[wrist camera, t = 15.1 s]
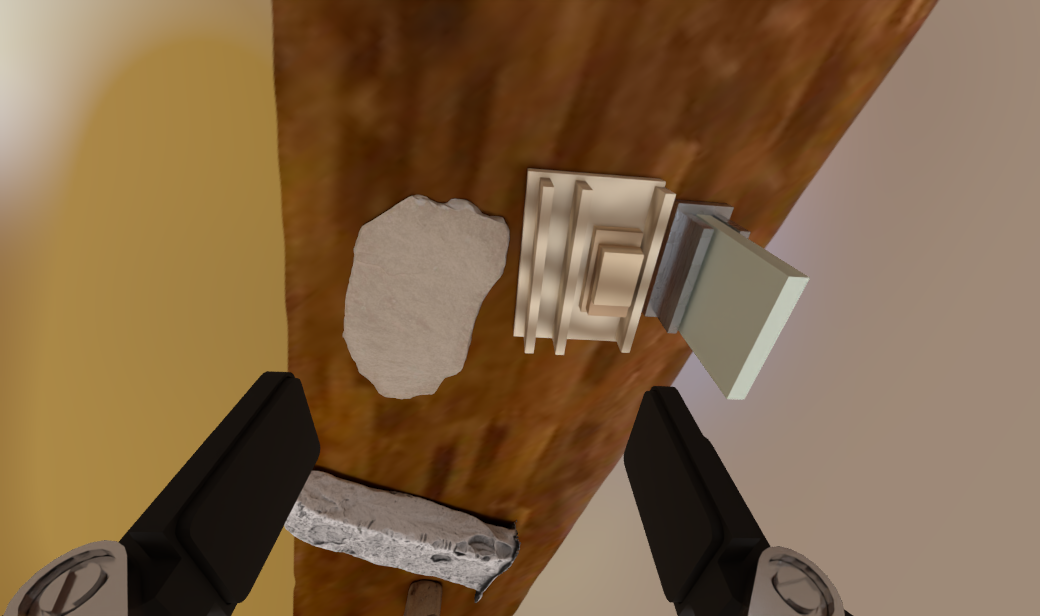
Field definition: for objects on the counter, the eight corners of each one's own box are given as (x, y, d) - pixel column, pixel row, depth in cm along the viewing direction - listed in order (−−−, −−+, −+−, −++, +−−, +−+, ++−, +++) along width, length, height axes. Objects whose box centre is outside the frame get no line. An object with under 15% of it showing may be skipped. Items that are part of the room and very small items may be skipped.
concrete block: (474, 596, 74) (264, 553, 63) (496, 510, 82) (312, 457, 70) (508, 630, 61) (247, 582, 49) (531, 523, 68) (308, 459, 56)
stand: (673, 199, 40) (700, 217, 34) (726, 203, 40) (761, 222, 35) (641, 309, 47) (659, 339, 41) (686, 312, 47) (710, 342, 42)
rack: (527, 168, 38) (530, 179, 33) (660, 178, 39) (681, 191, 34) (513, 329, 48) (514, 355, 43) (618, 334, 49) (630, 361, 44)
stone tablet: (524, 221, 41) (524, 228, 39) (444, 402, 55) (441, 414, 53) (375, 159, 37) (367, 163, 35) (330, 370, 51) (322, 382, 49)
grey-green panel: (696, 214, 39) (789, 276, 26) (710, 215, 39) (810, 277, 26) (664, 310, 45) (726, 398, 32) (676, 311, 45) (744, 399, 32)
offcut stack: (593, 225, 39) (603, 240, 36) (639, 228, 40) (653, 243, 36) (578, 305, 44) (585, 326, 41) (618, 307, 45) (629, 328, 41)
